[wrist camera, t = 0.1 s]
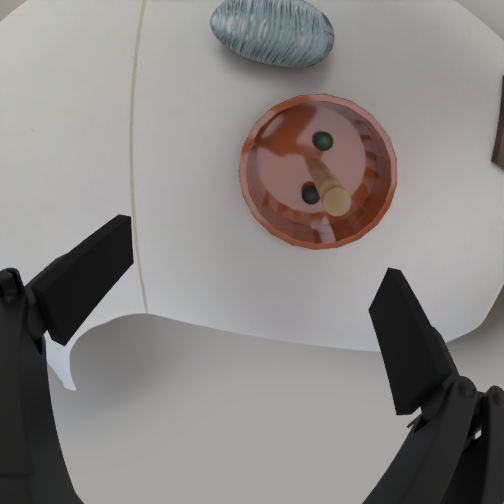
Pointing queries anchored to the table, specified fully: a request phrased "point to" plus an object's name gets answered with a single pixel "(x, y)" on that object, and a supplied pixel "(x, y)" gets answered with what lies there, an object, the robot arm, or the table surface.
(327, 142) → the bead
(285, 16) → the blue yarn skein
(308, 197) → the bead
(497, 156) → the brown board
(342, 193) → the stick
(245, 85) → the table surface
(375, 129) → the bowl
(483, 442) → the robot arm
